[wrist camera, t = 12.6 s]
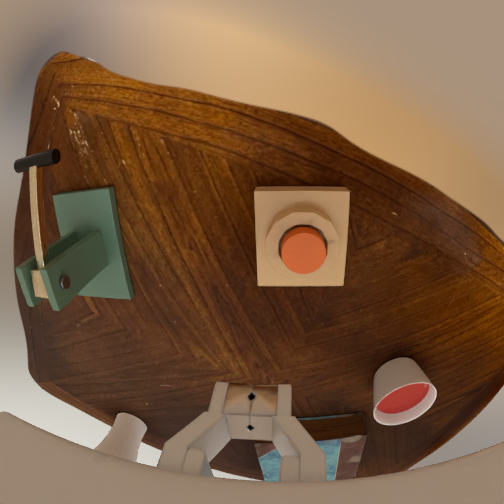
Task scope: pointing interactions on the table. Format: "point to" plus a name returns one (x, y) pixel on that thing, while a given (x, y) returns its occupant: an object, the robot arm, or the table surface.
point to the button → (303, 250)
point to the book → (323, 445)
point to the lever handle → (38, 210)
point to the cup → (124, 437)
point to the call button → (301, 215)
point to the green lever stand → (82, 251)
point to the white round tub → (401, 392)
